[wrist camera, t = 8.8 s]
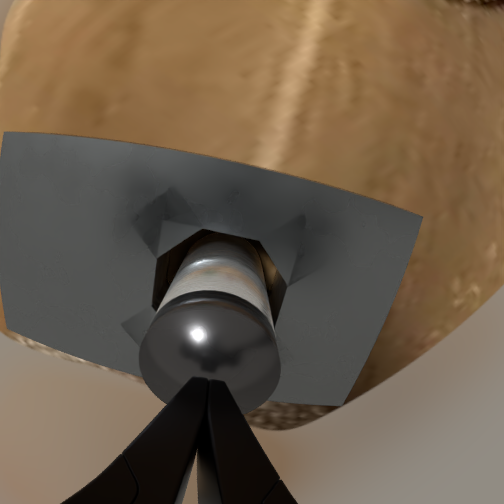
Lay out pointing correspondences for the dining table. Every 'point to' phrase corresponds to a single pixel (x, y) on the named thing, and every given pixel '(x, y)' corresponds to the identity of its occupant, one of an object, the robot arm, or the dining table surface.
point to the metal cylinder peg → (214, 325)
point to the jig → (177, 230)
